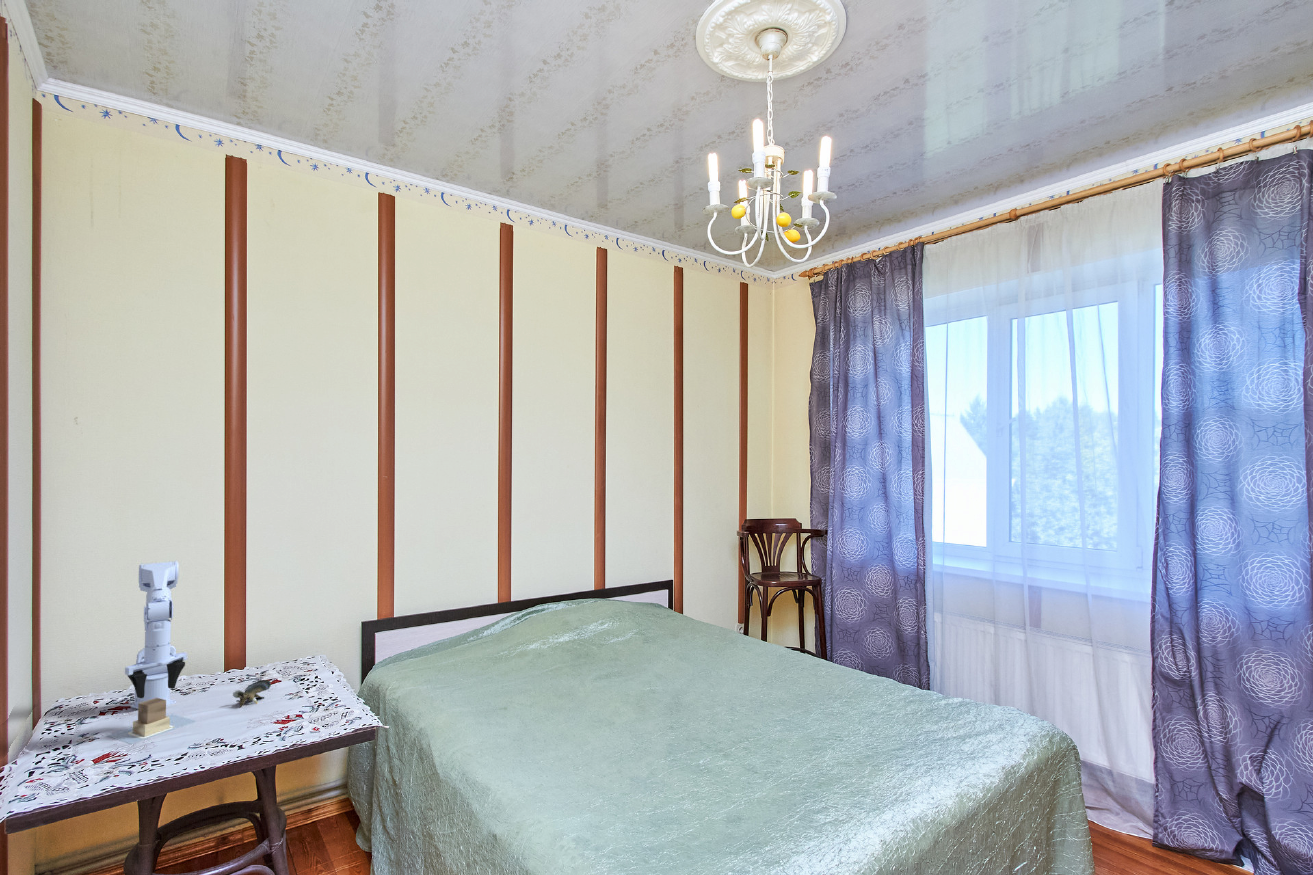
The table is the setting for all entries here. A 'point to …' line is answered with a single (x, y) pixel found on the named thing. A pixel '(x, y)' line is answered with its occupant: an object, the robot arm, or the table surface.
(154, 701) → the walnut block
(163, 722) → the oak slab
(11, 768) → the table surface
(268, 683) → the eagle figurine
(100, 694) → the table surface
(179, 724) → the board
